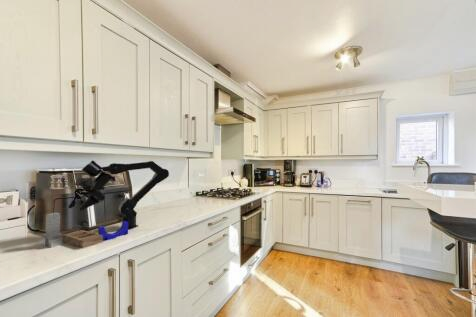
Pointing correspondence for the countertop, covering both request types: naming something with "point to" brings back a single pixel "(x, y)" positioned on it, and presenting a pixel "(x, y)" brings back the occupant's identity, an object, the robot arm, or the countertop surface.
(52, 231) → the grey tower on plinth
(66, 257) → the countertop surface
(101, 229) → the cable clip
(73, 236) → the rail
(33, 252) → the countertop surface
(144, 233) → the countertop surface
